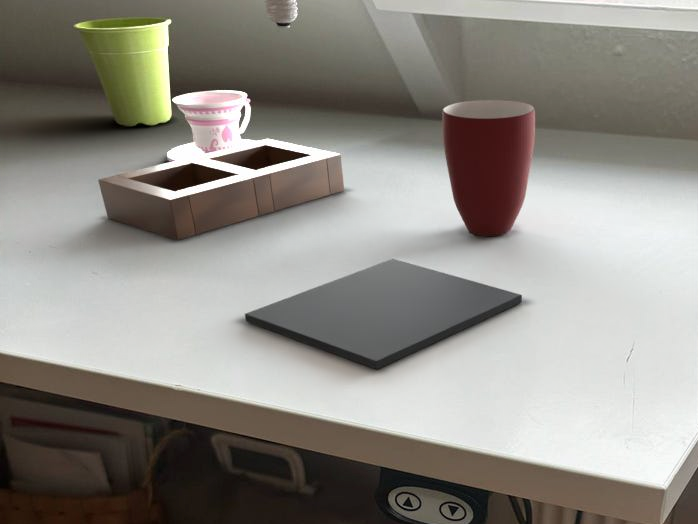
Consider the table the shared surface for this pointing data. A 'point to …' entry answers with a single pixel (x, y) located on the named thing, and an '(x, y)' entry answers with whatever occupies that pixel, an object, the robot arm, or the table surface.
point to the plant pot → (131, 66)
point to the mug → (488, 161)
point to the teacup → (212, 122)
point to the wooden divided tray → (221, 187)
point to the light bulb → (282, 12)
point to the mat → (383, 311)
